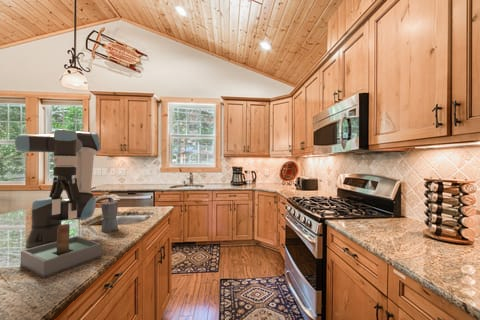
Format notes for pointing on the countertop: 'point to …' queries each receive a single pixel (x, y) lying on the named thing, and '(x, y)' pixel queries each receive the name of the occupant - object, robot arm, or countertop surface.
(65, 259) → the bore box
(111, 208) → the moka pot
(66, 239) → the walnut peg
